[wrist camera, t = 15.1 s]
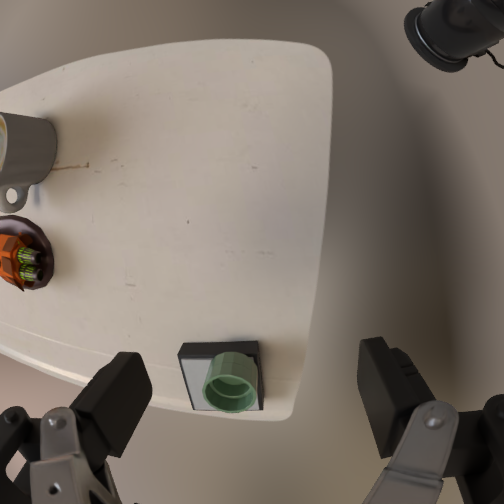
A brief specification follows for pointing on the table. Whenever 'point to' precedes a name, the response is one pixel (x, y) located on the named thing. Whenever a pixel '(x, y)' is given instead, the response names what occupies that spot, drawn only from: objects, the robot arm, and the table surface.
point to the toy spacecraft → (24, 253)
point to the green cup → (231, 382)
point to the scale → (197, 364)
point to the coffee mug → (24, 156)
